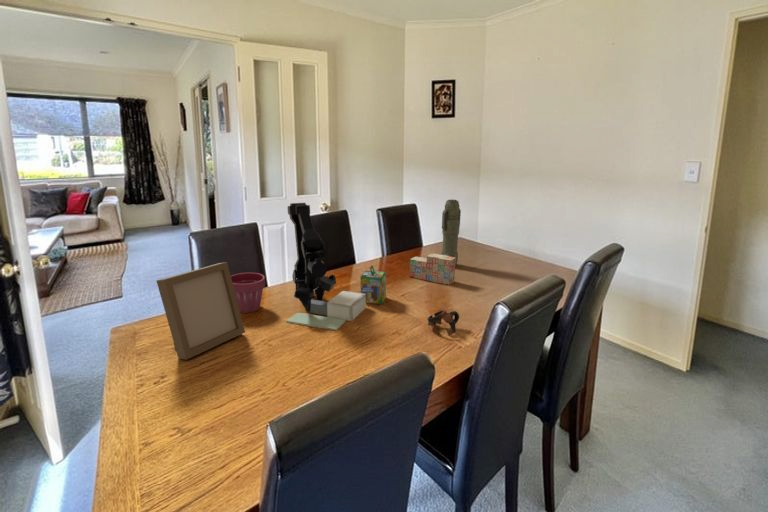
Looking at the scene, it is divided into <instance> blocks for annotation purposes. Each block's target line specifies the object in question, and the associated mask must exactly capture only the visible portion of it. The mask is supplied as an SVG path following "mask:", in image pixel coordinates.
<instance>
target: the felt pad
mask: <svg viewBox="0 0 768 512" xmlns="http://www.w3.org/2000/svg"><path fill="white" fill-rule="evenodd" d="M346 321H347V320H342V319H336V318H329V317H328V316H324V315H323V316H321V315H315V314H309V313H304V312H303V313H302V312H296V313H295V314H294V315H292V316H291V317H290V318H288V319H287V320H286V323H289V324H295V325H302V326H307V327H314V328H319V329H325V330H330V331H337V330H339V329H340V328H341V325H342V324H343V325H344V324H345V323H346ZM343 325H342V326H343Z"/></svg>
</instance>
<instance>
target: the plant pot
mask: <svg viewBox="0 0 768 512" xmlns="http://www.w3.org/2000/svg"><path fill="white" fill-rule="evenodd" d="M231 279H232V283H233V287H234V291H235V295H236V299H237V303H238V306H239V310H240V314H242V313H243V314H248V313H254V312H256V311H258V310H260V308H261V304H262V303H261V302H262V297H263V291H264V290H263V289H264V288H265V287H266V278H265V275H264V274H263V273H259V272H240V273H235V274H233V275H231Z"/></svg>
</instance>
